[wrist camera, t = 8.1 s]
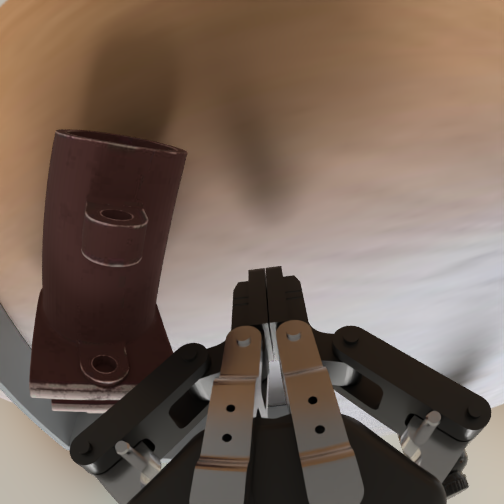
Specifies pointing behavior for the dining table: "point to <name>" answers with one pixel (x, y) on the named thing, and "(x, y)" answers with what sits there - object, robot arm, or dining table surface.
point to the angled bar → (40, 409)
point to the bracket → (102, 268)
